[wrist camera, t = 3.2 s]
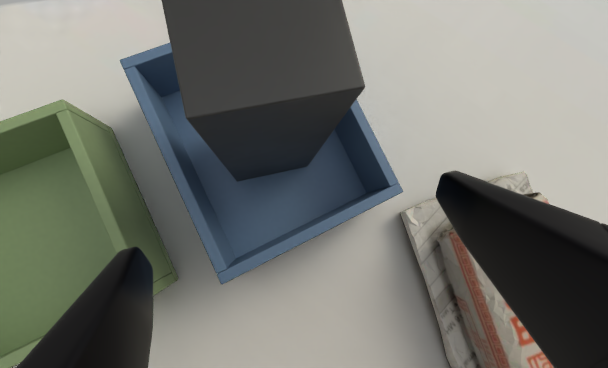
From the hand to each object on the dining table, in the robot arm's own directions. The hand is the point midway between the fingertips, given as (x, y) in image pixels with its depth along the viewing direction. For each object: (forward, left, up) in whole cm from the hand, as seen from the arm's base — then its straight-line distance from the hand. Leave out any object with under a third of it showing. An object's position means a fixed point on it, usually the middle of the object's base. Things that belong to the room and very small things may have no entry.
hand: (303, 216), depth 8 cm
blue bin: (+4, +3, -12) cm, 13 cm away
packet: (+4, +3, -11) cm, 12 cm away
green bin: (-7, +13, -12) cm, 18 cm away
